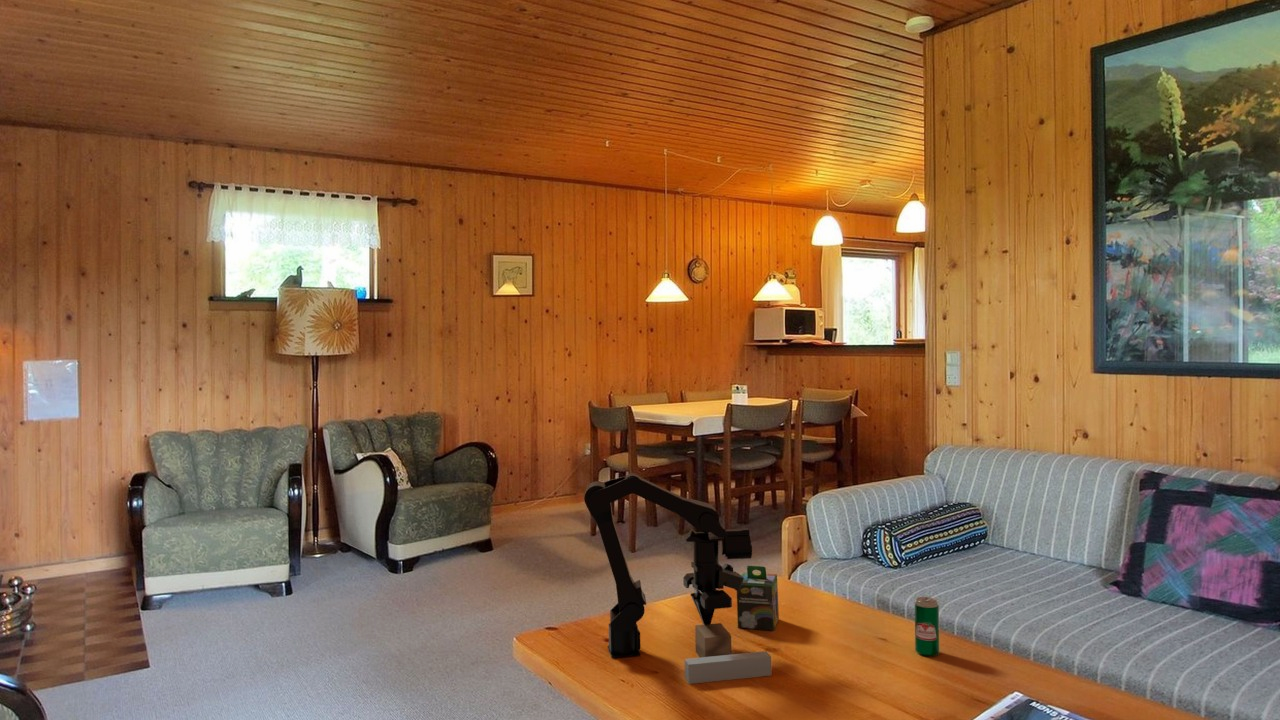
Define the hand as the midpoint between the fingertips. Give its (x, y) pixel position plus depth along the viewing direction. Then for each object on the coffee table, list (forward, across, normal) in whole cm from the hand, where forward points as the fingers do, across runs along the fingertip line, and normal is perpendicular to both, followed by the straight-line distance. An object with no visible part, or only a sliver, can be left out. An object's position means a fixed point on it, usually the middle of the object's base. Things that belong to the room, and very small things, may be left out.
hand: (707, 627), depth 179 cm
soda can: (+5, -15, -47) cm, 49 cm away
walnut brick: (+5, -5, 0) cm, 7 cm away
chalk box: (+6, +13, -17) cm, 22 cm away
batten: (+5, -16, 0) cm, 16 cm away
